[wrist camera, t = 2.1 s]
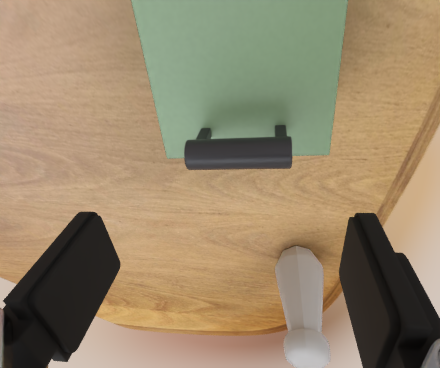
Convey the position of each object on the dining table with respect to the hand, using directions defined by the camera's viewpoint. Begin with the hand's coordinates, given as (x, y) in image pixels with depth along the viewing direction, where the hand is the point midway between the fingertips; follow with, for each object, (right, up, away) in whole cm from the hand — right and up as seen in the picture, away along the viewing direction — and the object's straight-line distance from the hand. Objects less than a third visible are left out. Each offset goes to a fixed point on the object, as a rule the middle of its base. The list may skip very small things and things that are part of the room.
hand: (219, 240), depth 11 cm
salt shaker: (+10, -7, +26) cm, 29 cm away
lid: (+1, +11, +6) cm, 12 cm away
